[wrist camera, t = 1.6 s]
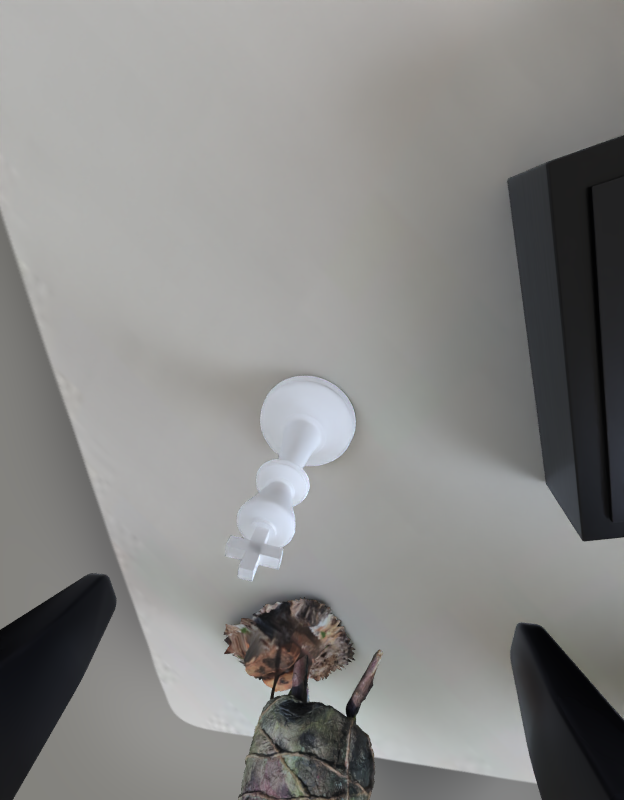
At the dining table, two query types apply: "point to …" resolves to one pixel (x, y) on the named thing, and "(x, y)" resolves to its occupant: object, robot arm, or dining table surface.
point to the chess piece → (289, 465)
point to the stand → (577, 327)
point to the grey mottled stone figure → (302, 707)
